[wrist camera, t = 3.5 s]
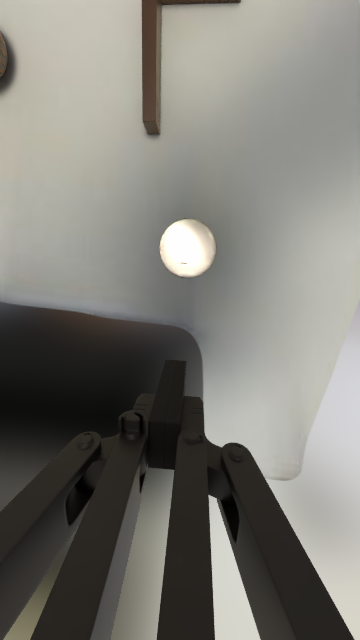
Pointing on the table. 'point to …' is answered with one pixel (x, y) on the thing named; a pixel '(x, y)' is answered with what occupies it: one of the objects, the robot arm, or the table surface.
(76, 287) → the table surface
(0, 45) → the vase
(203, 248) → the green soda can
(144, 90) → the corner
